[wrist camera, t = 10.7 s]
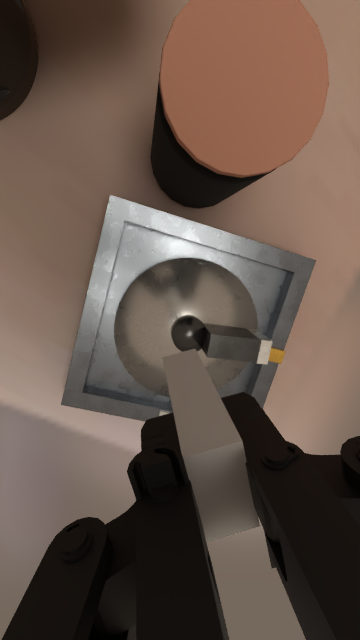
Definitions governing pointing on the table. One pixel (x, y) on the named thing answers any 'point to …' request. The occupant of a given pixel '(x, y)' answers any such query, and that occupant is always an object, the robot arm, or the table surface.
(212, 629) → the robot arm
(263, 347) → the dial
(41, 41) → the table surface
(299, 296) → the grey square tray
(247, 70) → the coffee jar
